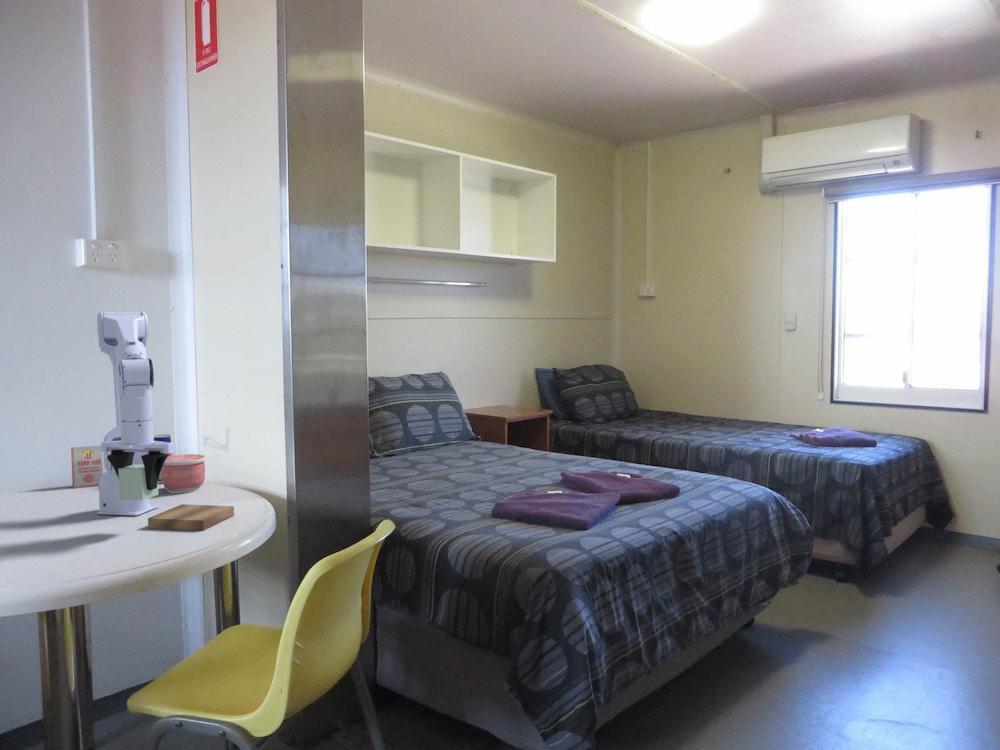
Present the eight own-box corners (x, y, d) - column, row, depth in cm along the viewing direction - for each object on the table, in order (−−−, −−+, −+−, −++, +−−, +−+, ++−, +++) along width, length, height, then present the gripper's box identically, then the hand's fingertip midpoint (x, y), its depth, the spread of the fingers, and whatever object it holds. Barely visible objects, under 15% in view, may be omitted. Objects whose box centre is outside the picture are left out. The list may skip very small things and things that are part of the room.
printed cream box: (72, 485, 194) (71, 446, 193) (102, 482, 197) (101, 444, 196) (72, 488, 191) (71, 448, 190) (103, 485, 194) (101, 446, 193)
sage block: (119, 499, 149) (118, 468, 149) (135, 493, 154) (134, 464, 153) (142, 500, 148) (141, 469, 148) (158, 494, 153) (157, 464, 153)
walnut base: (148, 528, 153) (147, 518, 153) (182, 513, 165) (181, 504, 165) (203, 530, 151) (203, 520, 151) (234, 515, 163) (233, 506, 163)
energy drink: (164, 484, 195) (163, 437, 194) (146, 483, 196) (144, 437, 195) (177, 480, 200) (176, 434, 200) (159, 479, 201) (158, 434, 201)
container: (196, 494, 183) (195, 461, 183) (153, 494, 184) (151, 461, 183) (213, 485, 194) (212, 454, 193) (172, 485, 194) (171, 454, 193)
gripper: (89, 422, 147) (92, 491, 148) (158, 423, 145) (160, 494, 146) (113, 417, 154) (116, 484, 155) (179, 419, 152) (181, 486, 153)
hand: (139, 488), depth 151 cm, fingers closed on sage block, 5 cm apart
